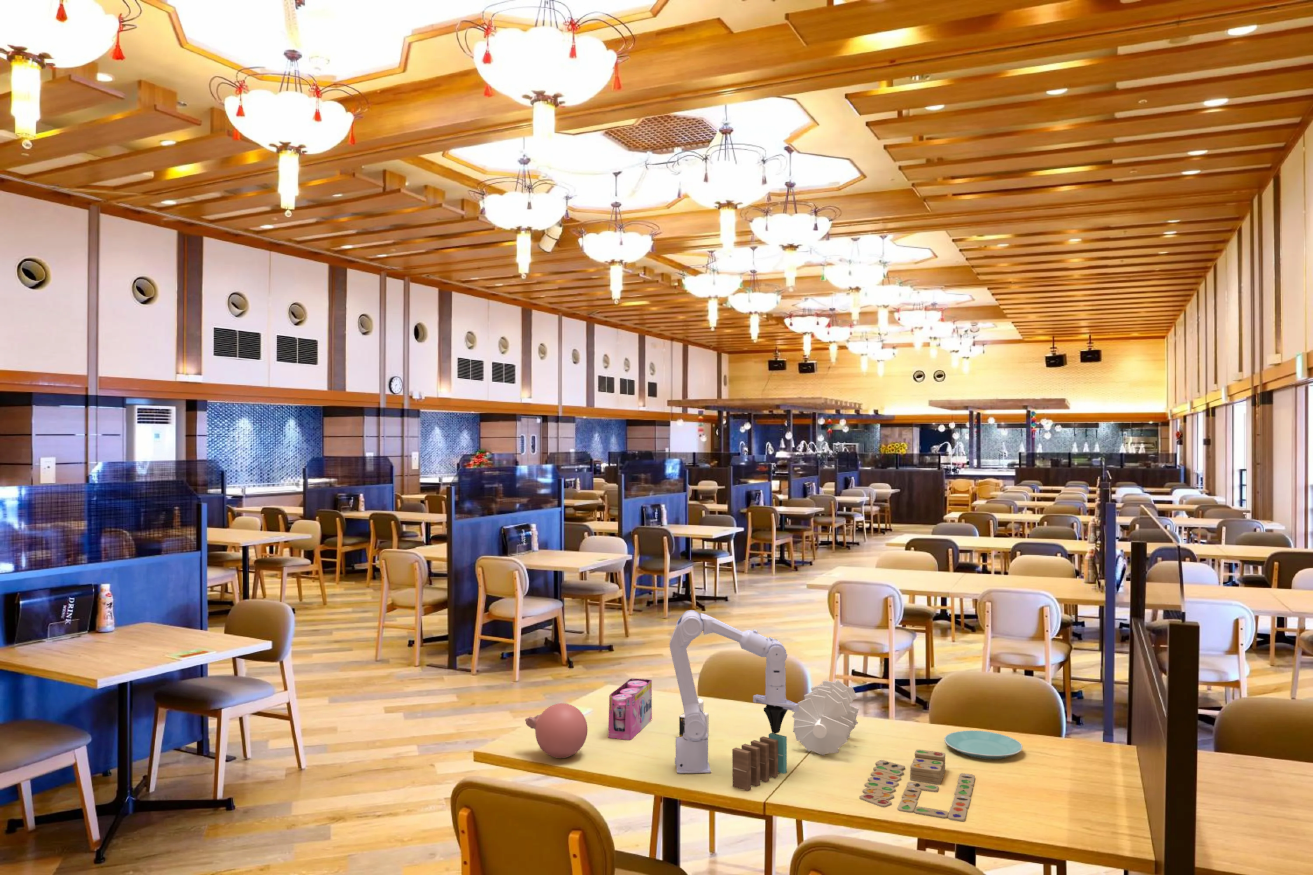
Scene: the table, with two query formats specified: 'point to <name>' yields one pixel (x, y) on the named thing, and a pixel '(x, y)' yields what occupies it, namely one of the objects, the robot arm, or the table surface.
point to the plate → (983, 744)
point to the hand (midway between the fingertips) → (775, 732)
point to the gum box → (630, 708)
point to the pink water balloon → (559, 730)
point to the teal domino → (781, 751)
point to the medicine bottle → (682, 722)
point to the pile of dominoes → (918, 786)
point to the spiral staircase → (826, 717)
